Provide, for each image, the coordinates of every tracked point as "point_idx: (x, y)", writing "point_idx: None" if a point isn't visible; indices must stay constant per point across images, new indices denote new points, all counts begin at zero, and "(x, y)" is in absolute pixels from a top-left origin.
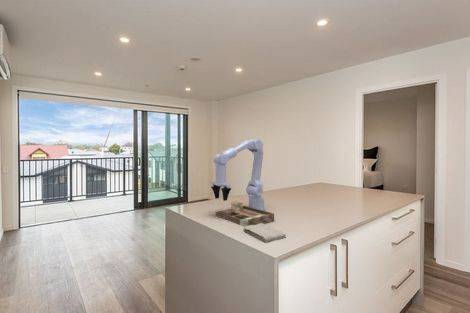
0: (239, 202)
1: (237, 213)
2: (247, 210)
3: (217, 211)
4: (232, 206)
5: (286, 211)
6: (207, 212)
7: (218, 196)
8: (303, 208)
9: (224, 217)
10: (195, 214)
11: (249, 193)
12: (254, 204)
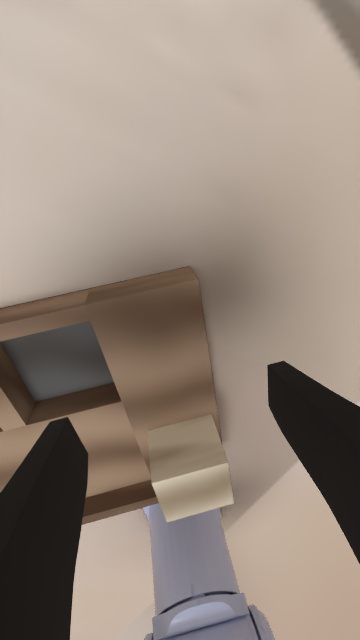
0: (179, 505)
1: (67, 413)
2: (111, 481)
3: (196, 297)
4: (201, 436)
5: (91, 582)
6: (329, 249)
7: (280, 422)
8: (107, 621)
9: (59, 300)
10: (356, 104)
11: (233, 623)
12: (157, 544)
